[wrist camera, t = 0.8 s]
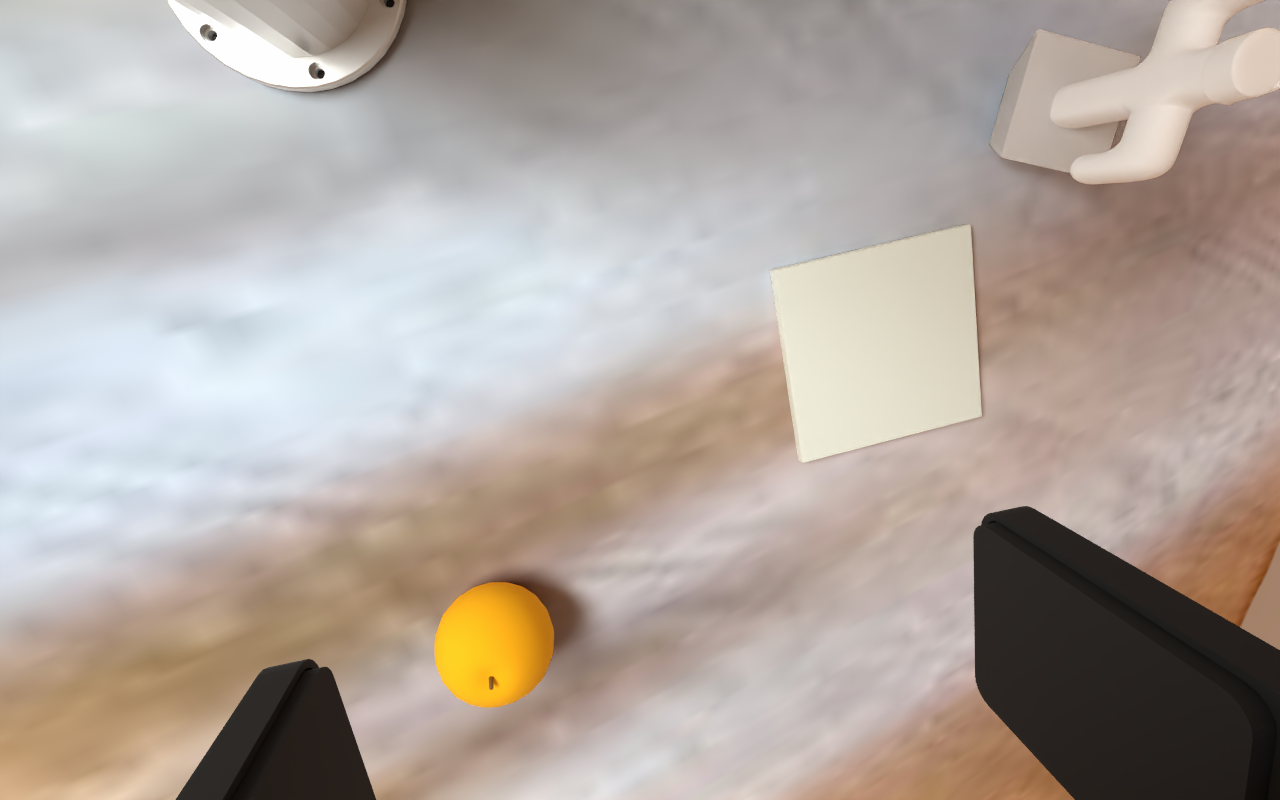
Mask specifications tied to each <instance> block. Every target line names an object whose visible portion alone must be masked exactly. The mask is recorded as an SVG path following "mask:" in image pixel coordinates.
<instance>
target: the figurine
mask: <svg viewBox="0 0 1280 800" xmlns="http://www.w3.org/2000/svg"><path fill="white" fill-rule="evenodd" d="M1262 1H1265V0H1170V2H1169V3H1168V5H1167V7H1166V9H1165V11H1164V13H1163V16H1162V19H1161V22H1160V25H1159V28H1158V31H1157V34H1156V37H1155V40H1154V43H1153V46H1152V49H1151V51H1150V53H1149V55H1148V56H1147V58H1146V59H1145V60H1144V61H1143V62H1142V63H1140V64H1139V61H1140V58H1141V57H1140V56H1137V55H1133V54H1129V53H1126V52H1122V51H1118V50H1115V49H1111V48H1107V47H1103V46H1100V45H1096V44H1092V43H1089V42H1085V41H1081V40H1078V39H1074V38H1070V37H1067V36H1063V35H1059V34H1056V33H1052V32H1048V31H1045V30H1041V29H1038V30H1037V32H1036V33H1035V35H1034V36H1033V38H1032V40H1031V41H1030V43H1029V44H1028V46H1027V47H1026V49H1025V51H1024V52H1023V54H1022V55H1021V57H1020V58H1019V60H1018V61H1017V63H1016V65H1015V66H1014V68H1013V69H1012V71H1011V72H1010V74H1009V77H1008V80H1007V84H1006V87H1005V91H1004V94H1003V97H1002V101H1001V104H1000V108H999V111H998V115H997V118H996V122H995V125H994V129H993V132H992V136H991V139H990V143H989V145H990V146H991V147H992V148H993V150H994V151H995V152H996V153H997V154H998V155H999V156H1000V157H1001V158H1005V159H1010V160H1014V161H1019V162H1023V163H1027V164H1032V165H1036V166H1041V167H1045V168H1049V169H1054V170H1058V171H1063V172H1067V173H1071V176H1072V177H1073V178H1074V179H1075V180H1076V181H1078V182H1080V183H1083V184H1109V183H1123V182H1135V181H1142V180H1148V179H1153V178H1156V177H1159V176H1161V175H1163V174H1164V173H1166V172H1167V171H1168V170H1169V169H1170V168H1171V167H1172V166H1173V164H1174V163H1175V161H1176V159H1177V156H1178V154H1179V151H1180V148H1181V145H1182V142H1183V140H1184V137H1185V134H1186V131H1187V128H1188V126H1189V123H1190V120H1191V117H1192V114H1193V113H1194V112H1195V111H1196V110H1198V109H1200V108H1202V107H1204V106H1206V105H1210V104H1215V103H1220V104H1224V105H1231V104H1233V103H1235V102H1236V101H1241V100H1245V99H1250V98H1254V97H1258V96H1262V95H1264V94H1266V93H1270V92H1274V91H1277V90H1279V89H1280V31H1279V30H1277V29H1275V28H1262V29H1258V30H1255V31H1252V32H1249V33H1246V34H1243V35H1240V36H1237V37H1234V38H1231V39H1228V40H1226V41H1224V42H1222V43H1221V44H1218V41H1219V39H1220V36H1221V33H1222V30H1223V27H1224V25H1225V23H1226V22H1227V21H1228V20H1229V19H1230V18H1231V17H1232V16H1233V15H1235V14H1236V13H1238V12H1239V11H1241V10H1243V9H1245V8H1247V7H1249V6H1251V5H1254V4H1256V3H1259V2H1262ZM1217 44H1218V45H1217ZM1138 64H1139V65H1138ZM1126 119H1128V121H1127V124H1126V127H1125V130H1124V133H1123V136H1122V139H1121V141H1120V142H1119V143H1118V144H1117V145H1116V146H1115V147H1114V148H1112V149H1111V150H1110V148H1111V145H1112V142H1113V139H1114V136H1115V133H1116V130H1117V127H1118V124H1119V121H1121V120H1126Z"/></svg>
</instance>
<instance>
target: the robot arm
mask: <svg viewBox="0 0 1280 800" xmlns="http://www.w3.org/2000/svg"><path fill="white" fill-rule="evenodd" d="M387 1H388V0H167V2H168V4H169V6H170V8H171V9H172V11H173V12H174V13H175V15H176V16H177V18H178V19H179V21H180V22H181V24H182V25H183V27H184V28H185V29H186V31H187V32H188V33H189V34H190V35H191V36H192V37H193V38H194V39H195V40H196V41H197V42H198V43H199V44H200V45H201V46H202V48H203V49H204V50H206V51H207V52H208V53H210V54H211V55H212V56H213V57H215V58H216V59H217V60H219V61H220V62H221V63H223V64H224V65H225V66H227V67H229V68H230V69H232V70H234V71H236V72H238V73H239V74H241V75H243V76H245V77H247V78H249V79H252V80H254V81H256V82H259V83H261V84H263V85H266V86H270V87H274V88H278V89H282V90H286V91H299V92H315V91H322V90H329V89H334V88H336V87H339V86H342V85H344V84H347V83H350V82H352V81H354V80H355V79H357V78H359V77H360V76H362V75H363V74H365V73H366V72H368V71H369V70H371V69H372V68H373V67H374V65H375V64H376V63H377V62H378V61H379V60H380V59H381V58H382V57H383V56H384V55H385V54H386V52H387V51H388V49H389V47H390V46H391V44H392V43H393V41H394V40H395V38H396V36H397V33H398V31H399V28H400V25H401V23H402V20H403V17H404V13H405V7H406V1H407V0H393V1H394V6H393V7H391V8H388V7H387V6H386V2H387ZM214 33H217V38H216V40H215V41H213V39H212V36H213V34H214ZM320 70H324V72H325V76H324V78H322V79H319V77H318V72H319V71H320ZM974 614H975V677H976V683H977V686H978V689H979V691H980V694H981V696H982V697H983V699H984V701H985V702H986V703H987V704H988V706H989V707H990V708H991V709H992V710H993V711H994V712H995V713H996V714H997V715H998V717H999V718H1000V719H1001V720H1002V721H1003V722H1004V723H1005V724H1006V725H1007V726H1008V727H1009V728H1010V730H1011V731H1012V732H1013V733H1014V734H1015V735H1016V736H1017V737H1018V738H1019V739H1020V740H1021V742H1022V743H1023V744H1024V745H1025V746H1026V747H1027V748H1028V749H1029V750H1030V751H1031V752H1032V753H1033V755H1034V756H1035V757H1036V758H1037V759H1038V760H1039V761H1040V762H1041V763H1042V764H1043V765H1044V767H1045V768H1046V769H1047V770H1048V771H1049V772H1050V773H1051V774H1052V775H1053V776H1054V777H1055V778H1056V780H1057V781H1058V782H1059V783H1060V784H1061V785H1062V786H1063V787H1064V788H1065V789H1066V790H1067V792H1068V793H1069V794H1070V795H1071V796H1072V797H1073V798H1074V799H1075V800H1280V650H1278V649H1276V648H1275V647H1273V646H1271V645H1269V644H1268V643H1266V642H1264V641H1263V640H1261V639H1259V638H1257V637H1256V636H1254V635H1252V634H1250V633H1249V632H1247V631H1245V630H1243V629H1242V628H1240V627H1238V626H1237V625H1235V624H1233V623H1231V622H1230V621H1228V620H1226V619H1224V618H1223V617H1221V616H1219V615H1217V614H1216V613H1214V612H1212V611H1211V610H1209V609H1207V608H1205V607H1204V606H1202V605H1200V604H1198V603H1197V602H1195V601H1193V600H1191V599H1190V598H1188V597H1186V596H1184V595H1183V594H1181V593H1179V592H1178V591H1176V590H1174V589H1172V588H1171V587H1169V586H1167V585H1165V584H1164V583H1162V582H1160V581H1158V580H1157V579H1155V578H1153V577H1152V576H1150V575H1148V574H1146V573H1145V572H1143V571H1141V570H1139V569H1138V568H1136V567H1134V566H1132V565H1131V564H1129V563H1127V562H1125V561H1124V560H1122V559H1120V558H1119V557H1117V556H1115V555H1113V554H1112V553H1110V552H1108V551H1106V550H1105V549H1103V548H1101V547H1099V546H1098V545H1096V544H1094V543H1092V542H1091V541H1089V540H1087V539H1086V538H1084V537H1082V536H1080V535H1079V534H1077V533H1075V532H1073V531H1072V530H1070V529H1068V528H1066V527H1065V526H1063V525H1061V524H1060V523H1058V522H1056V521H1054V520H1053V519H1051V518H1049V517H1047V516H1046V515H1044V514H1042V513H1040V512H1039V511H1037V510H1035V509H1033V508H1031V507H1028V506H1023V507H1017V508H1013V509H1008V510H1003V511H999V512H994V513H989V514H987V515H986V516H985V517H984V519H983V521H982V525H981V526H978V527H977V528H976V529H975V531H974ZM176 800H376V798H375V795H374V792H373V789H372V786H371V783H370V780H369V778H368V775H367V772H366V769H365V766H364V763H363V760H362V757H361V754H360V751H359V749H358V746H357V743H356V740H355V737H354V734H353V731H352V728H351V725H350V722H349V719H348V717H347V714H346V711H345V708H344V705H343V702H342V699H341V696H340V693H339V690H338V687H337V685H336V682H335V679H334V676H333V674H332V672H331V670H330V669H329V668H328V667H322V668H319V667H318V665H317V664H316V663H315V662H314V661H313V660H311V659H306V660H302V661H297V662H292V663H288V664H283V665H278V666H274V667H269V668H266V669H264V670H262V671H261V672H260V674H259V675H258V676H257V678H256V679H255V681H254V682H253V684H252V685H251V687H250V688H249V690H248V691H247V693H246V694H245V696H244V697H243V699H242V700H241V702H240V703H239V705H238V706H237V708H236V709H235V711H234V712H233V714H232V715H231V717H230V718H229V720H228V721H227V723H226V724H225V726H224V727H223V729H222V730H221V732H220V733H219V735H218V736H217V738H216V739H215V741H214V742H213V744H212V745H211V747H210V749H209V750H208V752H207V753H206V755H205V756H204V758H203V759H202V761H201V762H200V764H199V765H198V767H197V768H196V770H195V771H194V773H193V774H192V776H191V777H190V779H189V780H188V782H187V783H186V785H185V786H184V788H183V789H182V791H181V792H180V794H179V795H178V797H177V798H176Z"/></svg>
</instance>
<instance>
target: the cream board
mask: <svg viewBox="0 0 1280 800" xmlns="http://www.w3.org/2000/svg"><path fill="white" fill-rule="evenodd" d="M770 276H771V282H772V289H773V295H774V302H775V309H776V315H777V322H778V329H779V335H780V342H781V349H782V355H783V362H784V368H785V375H786V382H787V388H788V395H789V402H790V408H791V415H792V422H793V428H794V435H795V441H796V448H797V455H798V459H799V460H800V461H801V462H802V463H804V462H808V461H812V460H816V459H820V458H823V457H827V456H831V455H835V454H839V453H843V452H846V451H850V450H854V449H858V448H862V447H866V446H870V445H873V444H877V443H881V442H885V441H889V440H893V439H896V438H900V437H904V436H908V435H912V434H916V433H920V432H923V431H927V430H931V429H935V428H939V427H943V426H946V425H950V424H954V423H958V422H962V421H966V420H969V419H973V418H977V417H981V416H982V411H981V394H980V377H979V359H978V342H977V325H976V307H975V290H974V273H973V255H972V238H971V224H963V225H959V226H955V227H950V228H946V229H942V230H938V231H933V232H929V233H925V234H921V235H916V236H912V237H908V238H904V239H899V240H895V241H891V242H887V243H882V244H878V245H874V246H870V247H865V248H861V249H857V250H853V251H848V252H844V253H840V254H835V255H831V256H827V257H823V258H818V259H814V260H810V261H806V262H801V263H797V264H793V265H789V266H784V267H780V268H776V269H772V270H770Z"/></svg>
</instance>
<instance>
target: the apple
mask: <svg viewBox="0 0 1280 800" xmlns="http://www.w3.org/2000/svg"><path fill="white" fill-rule="evenodd" d="M553 650H554V628H553V625H552V622H551V619H550V616H549V613H548V611H547V609H546V607H545V606H544V605H543V604H542V602H541V601H540V600H539V598H538V597H537V596H536V595H535V594H534V593H532V592H530V591H529V590H527V589H526V588H524V587H522V586H519V585H515V584H511V583H508V582H489V583H486V584H483V585H479V586H476V587H473V588H472V589H470V590H469V591H467V592H465V593H464V594H462V595H461V596H459V597H458V598H457V599H456V600H455V601H454V602H453V603H452V605H451V606H450V607H449V608H448V609H447V610H446V612H445V613H444V615H443V616H442V619H441V622H440V625H439V627H438V630H437V633H436V636H435V662H436V666H437V668H438V671H439V673H440V676H441V678H442V681H443V683H444V684H445V685H446V686H447V687H448V689H449V690H450V691H451V692H452V693H453V694H454V695H455V696H456V697H457V698H459V699H461V700H463V701H464V702H466V703H468V704H471V705H475V706H480V707H500V706H503V705H506V704H510V703H513V702H516V701H517V700H519V699H520V698H522V697H524V696H525V695H527V694H528V693H530V692H531V691H532V690H533V689H534V688H535V686H536V685H537V684H538V683H539V682H540V681H541V680H542V679H543V677H544V676H545V674H546V671H547V669H548V666H549V664H550V661H551V658H552V656H553Z"/></svg>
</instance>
